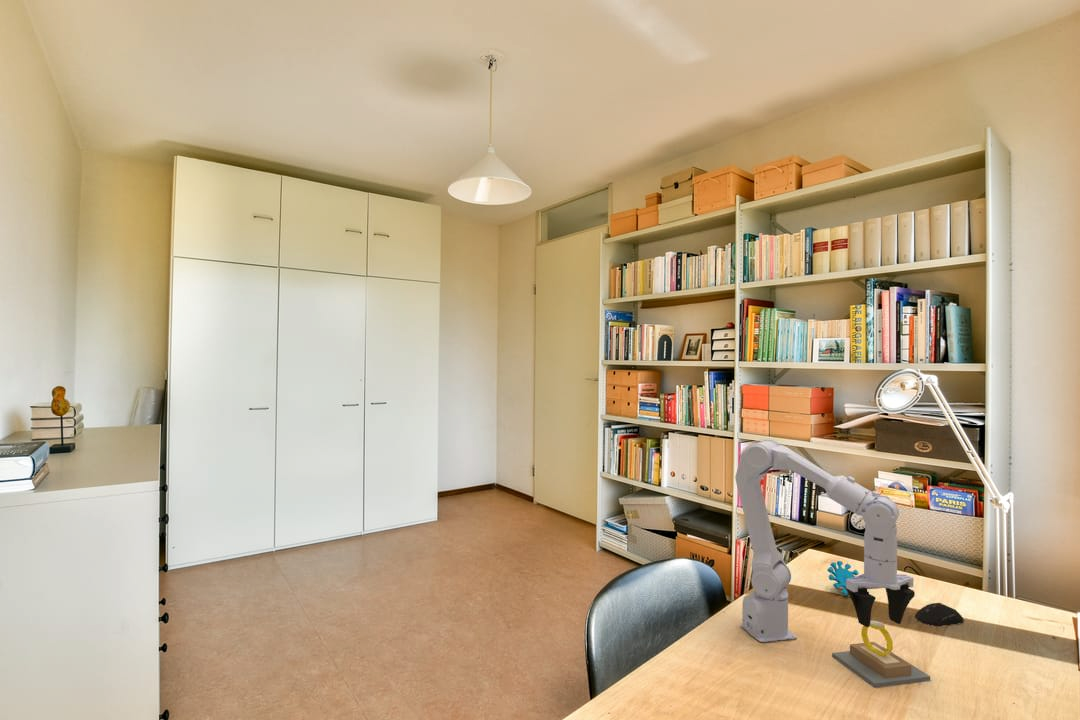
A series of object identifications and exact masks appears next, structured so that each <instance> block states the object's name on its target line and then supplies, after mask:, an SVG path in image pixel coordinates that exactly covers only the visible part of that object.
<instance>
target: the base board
mask: <svg viewBox="0 0 1080 720" xmlns="http://www.w3.org/2000/svg"><path fill="white" fill-rule="evenodd" d="M869 642H870V643H871V645H872V646H873V647H874V648H876V649H878V650H880V651H881V652H883V653H885V651H886V649H887V647H886V648H885V646H881V645H880V644H878V643H877V642H875V641H869ZM831 657H832V658H833V659H835V660H836V661H837V662H838V663H840V664H842V665H843V666H844V667H846V668H847V669H848V670H850V671H851V672H852V673H854V674H855V675H856V676H857V677H859V678H861V679H862V680H863V681H865V682H866V683H868V684H869V685H870V686H872V687H873V688H883V687H889V686H890V687H891V686H898V685H899V686H900V685H906V684H914V683H922V682H929V681H931V675H929V674H927V673H925V672H924V671H923V670H921V669H919V668H918V667H916V665H913V664H912V663H910V662H908V661H906V660H905V659H903V658H902V657H900V656H899V655H897V654H895V653H894V652H893V651H891V653H890V654H888V655H884V656H880V655H878V654H877V653H875V652H873V651H871V650H869V649H868V648H867V647H866V645H865V644H864V642H859V643H850V644H849V650H846V651H838V652H837V651H836V652H831Z"/></svg>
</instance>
